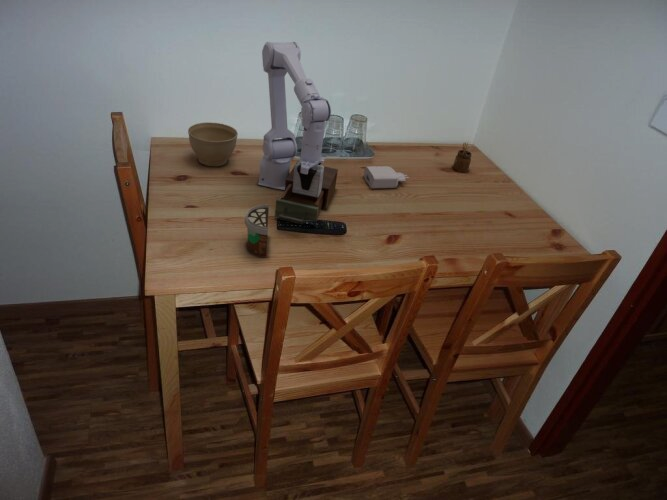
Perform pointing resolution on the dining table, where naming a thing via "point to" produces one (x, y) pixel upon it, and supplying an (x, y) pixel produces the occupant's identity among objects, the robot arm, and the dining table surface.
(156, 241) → the dining table surface
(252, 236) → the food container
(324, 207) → the cabinet
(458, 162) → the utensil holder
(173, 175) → the dining table surface
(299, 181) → the medicine box
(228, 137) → the planter bowl
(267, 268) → the dining table surface
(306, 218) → the drawer
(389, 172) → the charger
